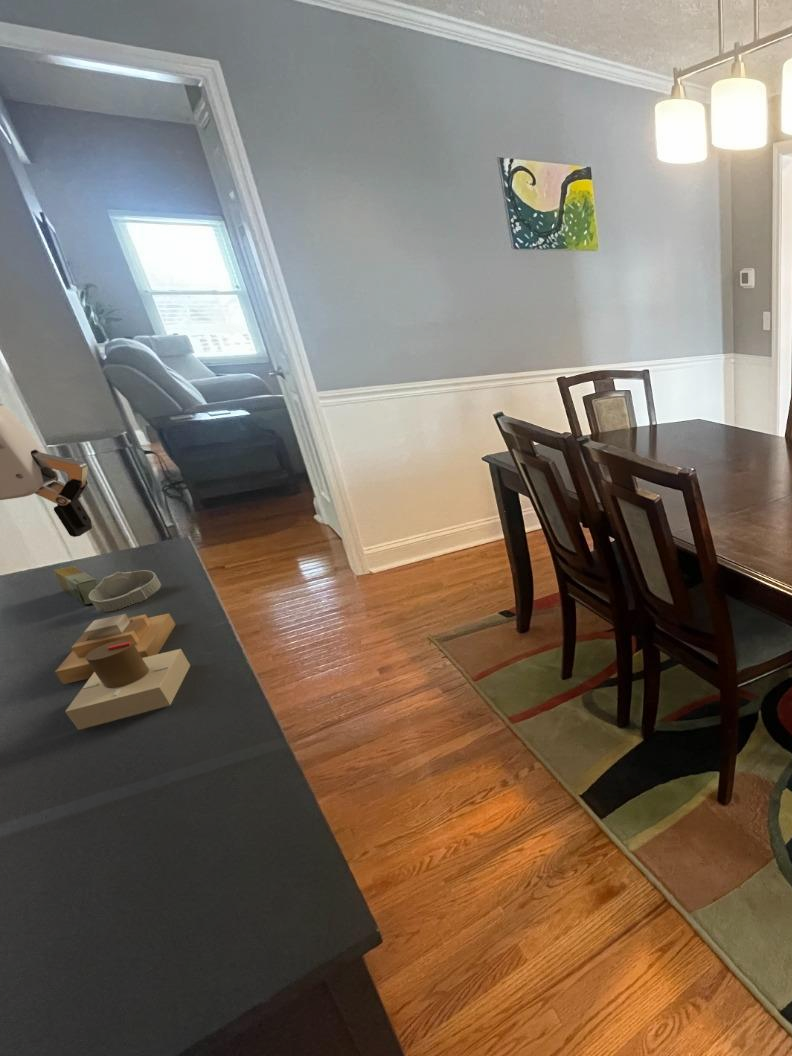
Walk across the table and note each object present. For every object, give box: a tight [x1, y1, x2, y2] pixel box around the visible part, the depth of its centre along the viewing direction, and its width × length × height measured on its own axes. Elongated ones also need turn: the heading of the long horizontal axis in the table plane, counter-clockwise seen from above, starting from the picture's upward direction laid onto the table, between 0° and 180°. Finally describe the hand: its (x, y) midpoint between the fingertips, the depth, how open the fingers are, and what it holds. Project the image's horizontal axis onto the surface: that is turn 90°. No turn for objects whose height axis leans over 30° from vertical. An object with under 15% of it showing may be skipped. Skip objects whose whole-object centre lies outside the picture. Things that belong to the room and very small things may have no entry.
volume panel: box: [64, 648, 191, 731], centre depth 79 cm, size 9×10×3 cm
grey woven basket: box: [88, 569, 162, 613], centre depth 103 cm, size 9×6×5 cm
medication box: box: [53, 565, 99, 606], centre depth 105 cm, size 12×3×4 cm, turn 60°
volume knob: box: [85, 640, 149, 688], centre depth 77 cm, size 4×4×5 cm
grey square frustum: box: [83, 613, 131, 640], centre depth 87 cm, size 4×4×2 cm
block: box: [54, 612, 177, 685], centre depth 88 cm, size 10×12×4 cm
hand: (32, 540), depth 73 cm, fingers open, 9 cm apart
